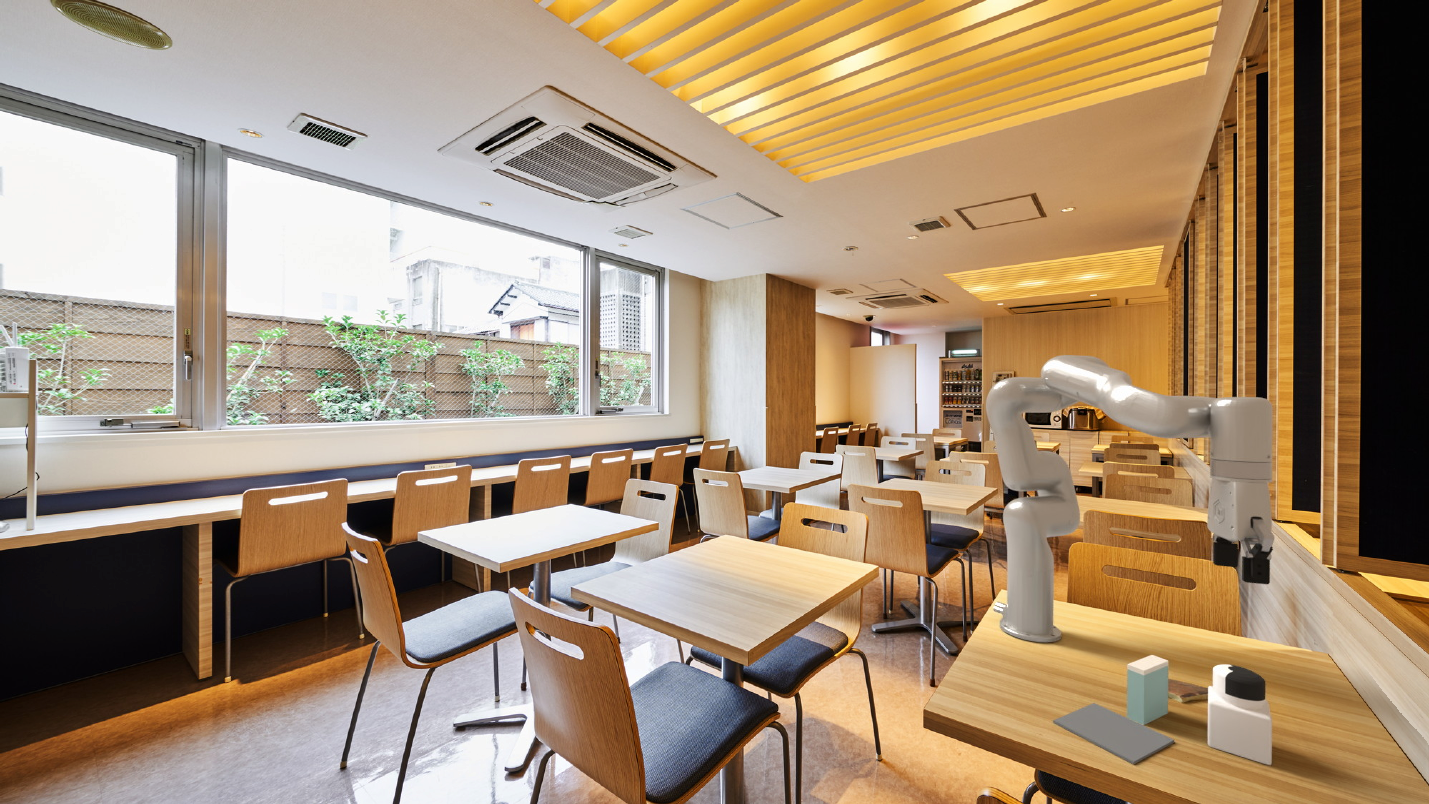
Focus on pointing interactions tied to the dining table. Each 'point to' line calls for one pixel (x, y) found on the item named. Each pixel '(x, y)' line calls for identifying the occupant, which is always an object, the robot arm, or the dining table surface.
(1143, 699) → the slab
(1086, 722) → the mat
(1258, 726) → the medicine bottle
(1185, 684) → the shard
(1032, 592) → the robot arm
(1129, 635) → the dining table surface
